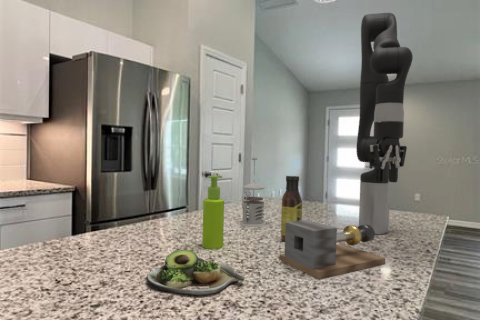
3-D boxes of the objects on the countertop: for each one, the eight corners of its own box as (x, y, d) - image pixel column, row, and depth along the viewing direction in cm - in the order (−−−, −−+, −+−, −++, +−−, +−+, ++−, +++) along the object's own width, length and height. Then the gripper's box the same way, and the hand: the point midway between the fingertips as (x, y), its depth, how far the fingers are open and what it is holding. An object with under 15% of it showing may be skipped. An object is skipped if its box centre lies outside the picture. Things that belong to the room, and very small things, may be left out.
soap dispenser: (227, 243, 100) (229, 175, 99) (218, 250, 93) (219, 176, 93) (209, 241, 102) (210, 174, 101) (198, 247, 95) (200, 175, 95)
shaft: (359, 239, 94) (360, 221, 94) (375, 244, 90) (376, 225, 90) (304, 249, 84) (304, 228, 84) (318, 254, 80) (319, 233, 79)
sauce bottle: (300, 243, 102) (302, 176, 101) (279, 242, 103) (281, 176, 102) (301, 238, 108) (303, 175, 108) (281, 236, 109) (283, 174, 109)
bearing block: (341, 249, 97) (342, 214, 97) (385, 263, 85) (386, 223, 85) (279, 260, 86) (280, 220, 86) (319, 279, 74) (320, 232, 73)
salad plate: (257, 274, 77) (257, 253, 77) (224, 307, 60) (225, 281, 60) (182, 261, 84) (182, 243, 84) (134, 288, 68) (135, 265, 67)
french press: (270, 223, 129) (272, 157, 128) (255, 229, 119) (257, 157, 118) (248, 220, 134) (249, 156, 133) (231, 225, 124) (233, 156, 124)
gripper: (393, 123, 101) (390, 180, 102) (359, 120, 94) (357, 182, 95) (417, 121, 95) (414, 183, 95) (383, 118, 88) (381, 184, 88)
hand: (386, 182), depth 95 cm, fingers open, 5 cm apart
